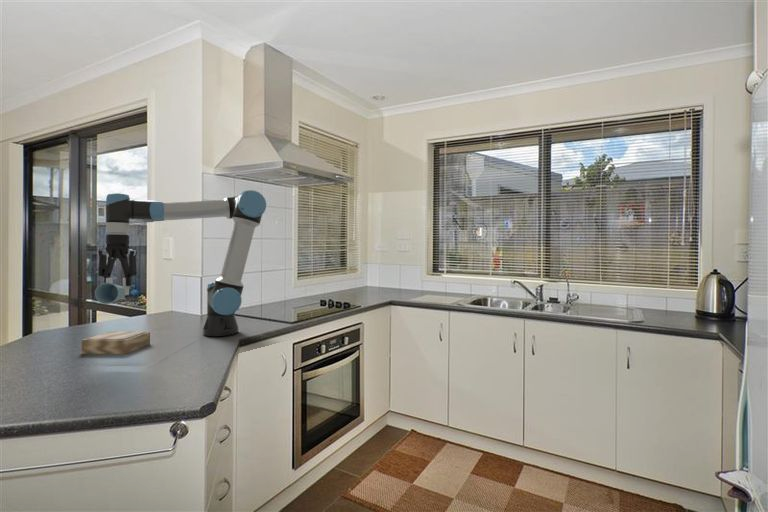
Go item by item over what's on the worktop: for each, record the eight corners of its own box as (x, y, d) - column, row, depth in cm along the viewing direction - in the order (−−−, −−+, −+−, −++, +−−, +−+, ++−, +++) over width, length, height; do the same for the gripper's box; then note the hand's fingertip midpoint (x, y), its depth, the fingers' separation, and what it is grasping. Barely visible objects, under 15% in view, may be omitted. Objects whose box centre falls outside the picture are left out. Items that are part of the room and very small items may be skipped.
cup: (131, 299, 162) (120, 300, 152) (110, 305, 161) (98, 306, 151) (126, 280, 162) (115, 280, 152) (105, 286, 161) (92, 286, 151)
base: (150, 344, 169) (150, 331, 169) (125, 354, 153) (125, 339, 153) (110, 343, 169) (110, 330, 169) (81, 353, 153) (81, 339, 153)
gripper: (147, 234, 164) (147, 294, 165) (100, 234, 164) (99, 293, 165) (136, 234, 157) (136, 296, 157) (86, 233, 157) (86, 295, 157)
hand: (117, 294), depth 161 cm, fingers closed on cup, 6 cm apart
